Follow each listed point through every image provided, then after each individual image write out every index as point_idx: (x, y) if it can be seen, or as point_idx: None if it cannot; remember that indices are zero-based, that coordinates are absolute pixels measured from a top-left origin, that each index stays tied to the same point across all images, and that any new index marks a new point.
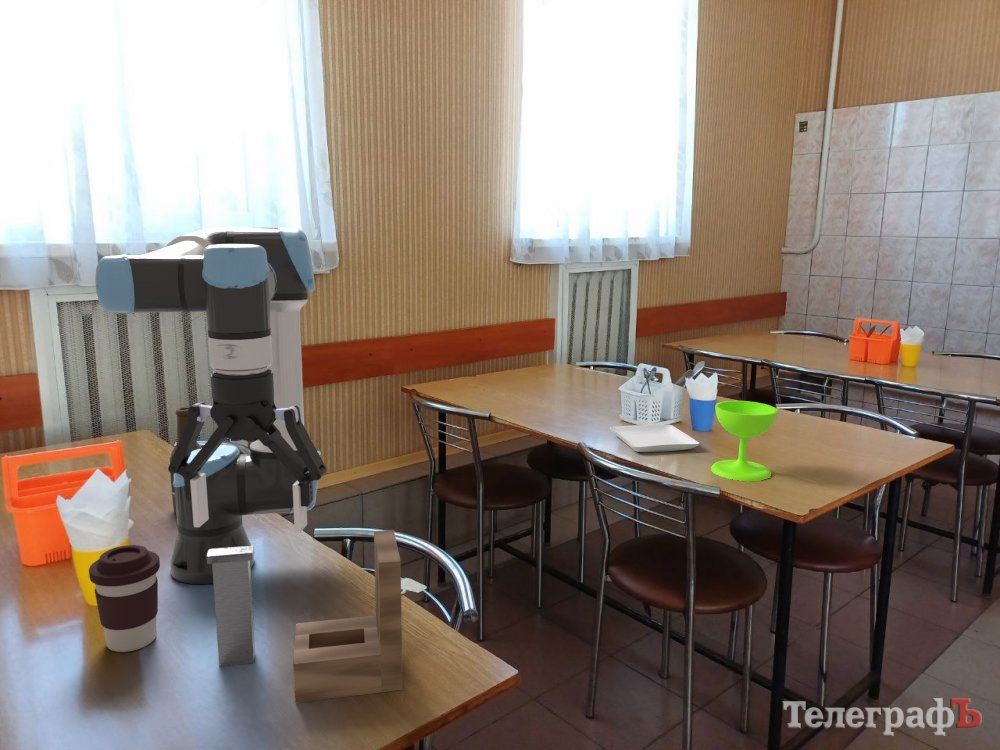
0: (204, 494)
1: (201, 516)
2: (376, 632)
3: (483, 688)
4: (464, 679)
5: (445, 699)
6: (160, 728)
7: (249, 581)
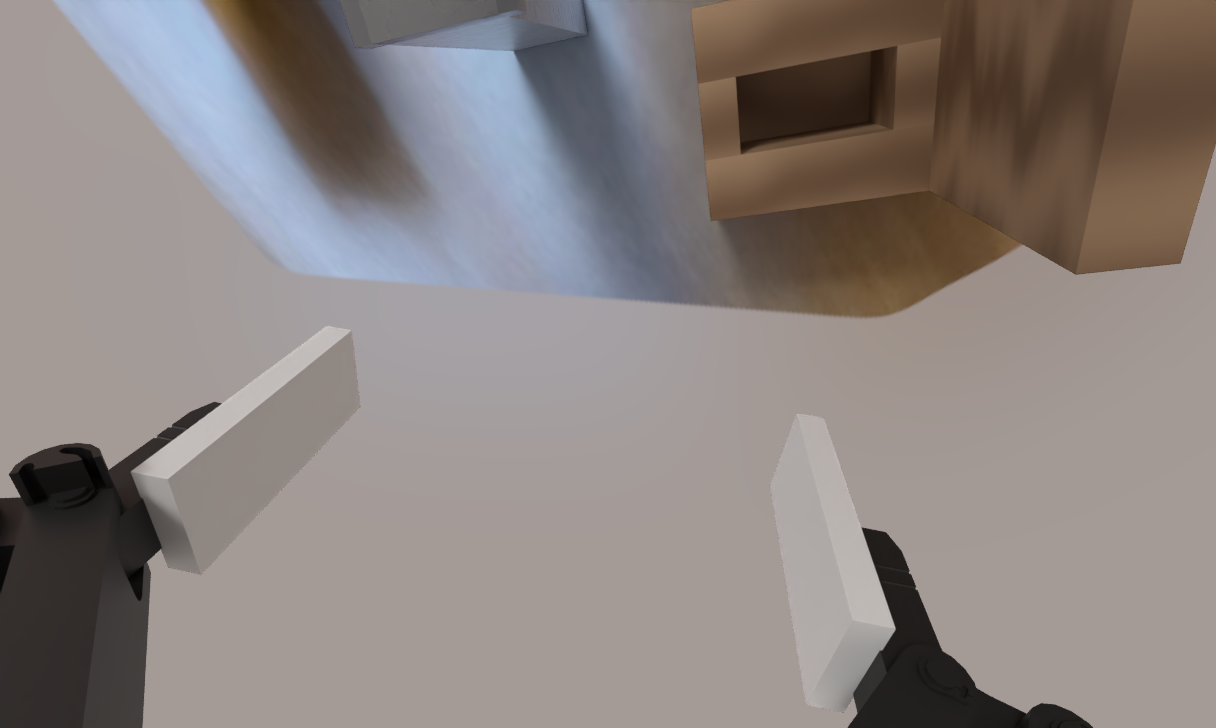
0: (268, 424)
1: (336, 408)
2: (934, 72)
3: None
4: None
5: None
6: (487, 258)
7: (531, 10)
